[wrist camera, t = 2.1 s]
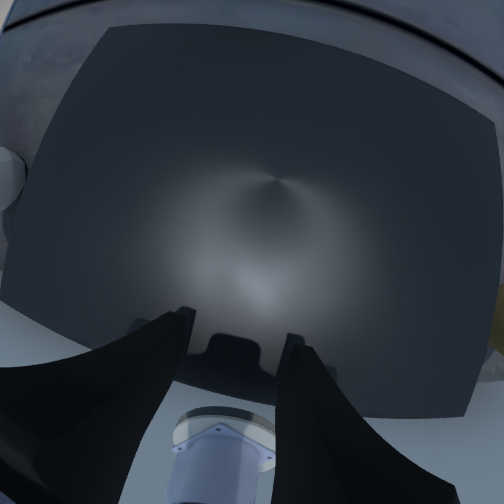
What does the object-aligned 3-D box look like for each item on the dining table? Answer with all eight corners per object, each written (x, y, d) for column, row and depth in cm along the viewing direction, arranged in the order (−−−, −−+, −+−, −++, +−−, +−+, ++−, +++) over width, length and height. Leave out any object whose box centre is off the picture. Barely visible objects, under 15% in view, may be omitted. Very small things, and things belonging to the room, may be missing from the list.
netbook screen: (455, 411, 11) (464, 417, 10) (8, 299, 12) (-2, 299, 11) (487, 127, 13) (494, 122, 12) (113, 35, 14) (109, 26, 13)
